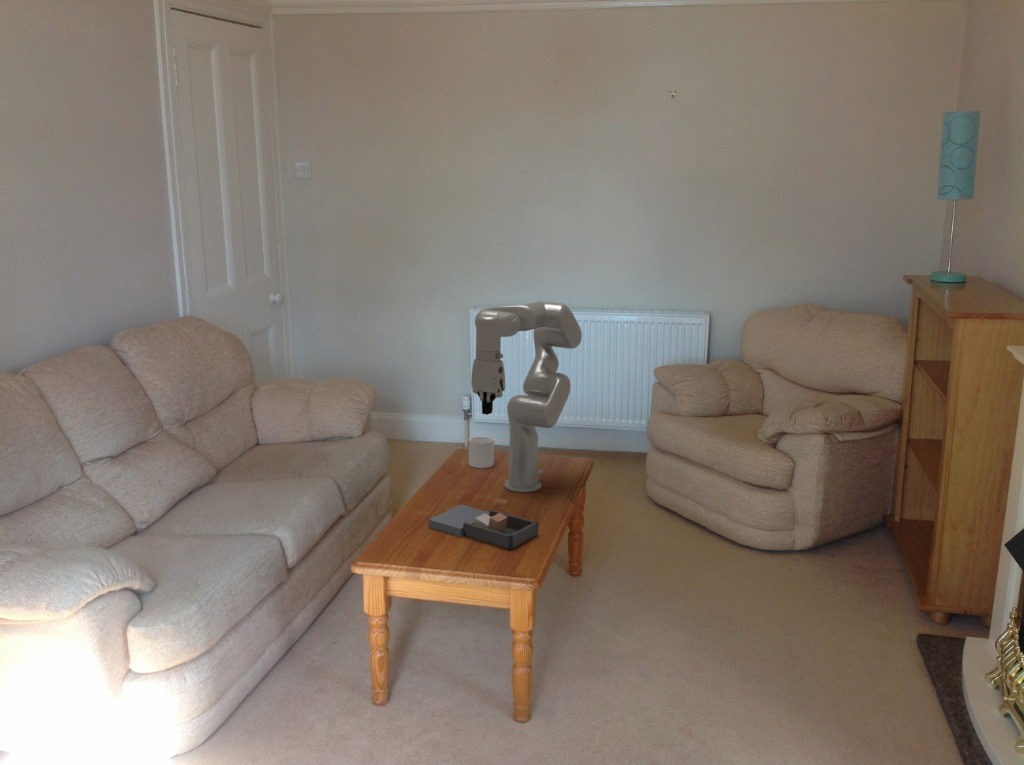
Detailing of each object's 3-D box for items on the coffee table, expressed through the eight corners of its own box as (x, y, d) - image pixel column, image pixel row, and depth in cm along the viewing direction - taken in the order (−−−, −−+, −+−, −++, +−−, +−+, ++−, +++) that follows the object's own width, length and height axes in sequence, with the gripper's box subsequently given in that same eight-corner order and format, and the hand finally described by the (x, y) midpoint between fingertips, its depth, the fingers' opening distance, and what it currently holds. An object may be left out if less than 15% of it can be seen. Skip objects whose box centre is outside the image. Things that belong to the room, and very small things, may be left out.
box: (491, 521, 294) (491, 509, 293) (537, 535, 285) (538, 522, 284) (463, 535, 283) (463, 523, 282) (510, 550, 273) (511, 536, 273)
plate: (461, 512, 302) (461, 504, 301) (492, 520, 295) (492, 513, 294) (428, 527, 289) (428, 519, 288) (460, 536, 282) (460, 528, 282)
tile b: (499, 512, 285) (507, 517, 284) (496, 527, 287) (504, 531, 286) (489, 517, 281) (498, 522, 280) (486, 532, 283) (494, 536, 282)
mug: (492, 469, 344) (492, 444, 341) (466, 467, 344) (467, 442, 342) (496, 458, 355) (496, 434, 353) (471, 457, 356) (471, 433, 354)
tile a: (482, 521, 290) (484, 513, 289) (495, 529, 287) (498, 520, 286) (472, 526, 286) (474, 518, 285) (486, 534, 283) (488, 525, 282)
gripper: (515, 356, 293) (513, 415, 297) (475, 350, 301) (475, 407, 305) (501, 360, 287) (499, 420, 291) (461, 354, 295) (460, 412, 299)
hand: (487, 413), depth 298 cm, fingers closed
